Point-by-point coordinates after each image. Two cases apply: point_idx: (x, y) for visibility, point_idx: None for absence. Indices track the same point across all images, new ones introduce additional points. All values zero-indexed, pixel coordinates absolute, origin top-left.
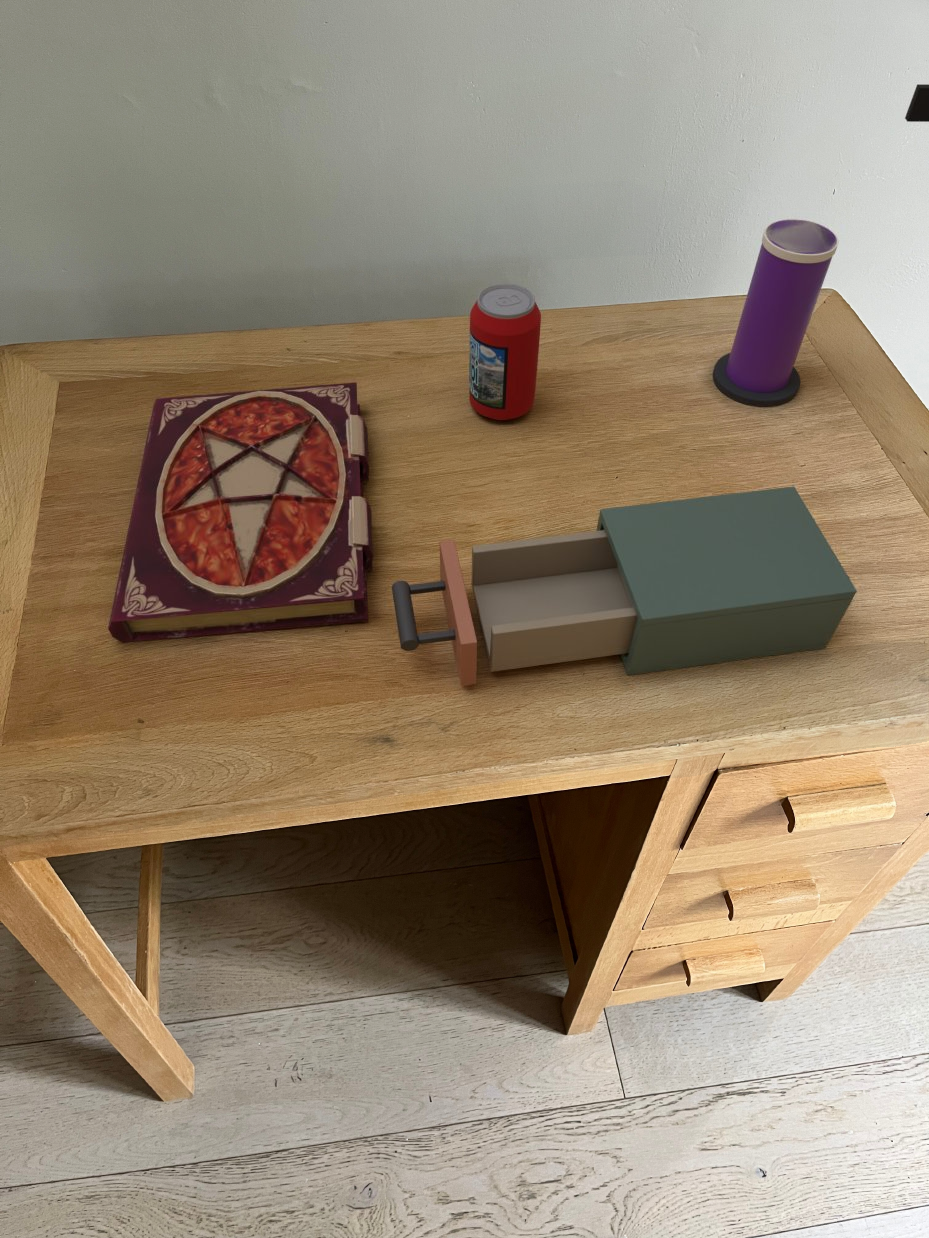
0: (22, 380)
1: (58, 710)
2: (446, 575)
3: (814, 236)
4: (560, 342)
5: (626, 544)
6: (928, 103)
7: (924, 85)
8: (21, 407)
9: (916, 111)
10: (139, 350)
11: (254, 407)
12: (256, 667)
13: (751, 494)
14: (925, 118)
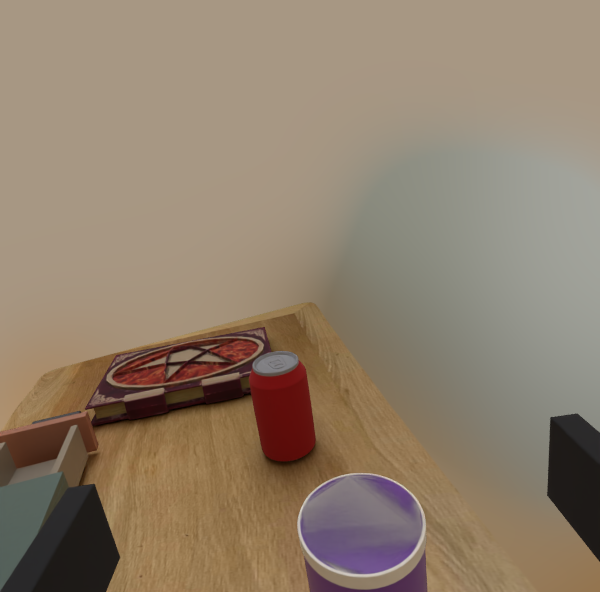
0: (294, 307)
1: (92, 365)
2: (57, 418)
3: (366, 537)
4: (396, 472)
5: (15, 489)
6: (579, 485)
7: (585, 426)
8: (275, 311)
9: (558, 483)
10: (323, 320)
11: (251, 347)
12: (84, 401)
13: None
14: (580, 528)
